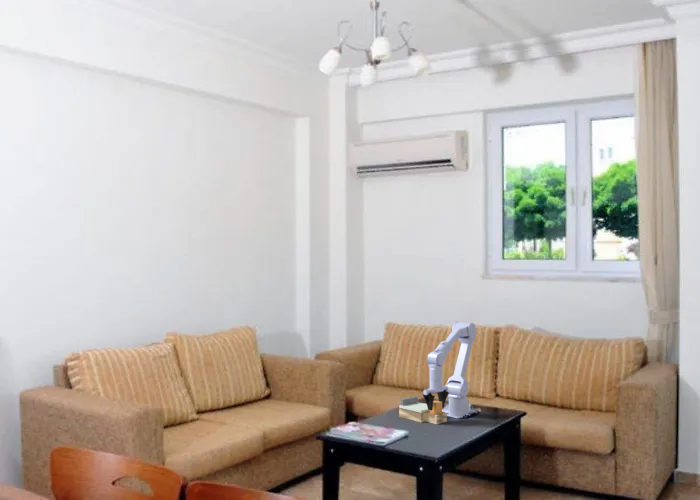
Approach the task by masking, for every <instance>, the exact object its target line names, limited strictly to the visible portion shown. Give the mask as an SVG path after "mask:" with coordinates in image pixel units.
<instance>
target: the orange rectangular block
mask: <svg viewBox="0 0 700 500" xmlns="http://www.w3.org/2000/svg"><path fill="white" fill-rule="evenodd" d="M442 412H443V408H442V402H440V401H439V400H434V401H433V409H432V410H430V413H431V414H436V415H437V414H442Z"/></svg>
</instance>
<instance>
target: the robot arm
mask: <svg viewBox="0 0 700 500" xmlns="http://www.w3.org/2000/svg"><path fill="white" fill-rule="evenodd" d="M477 331H478V330H477V327H476V324H475V323H474V322H460V321H455V322H454V323H453V324H452V326H451V332H450V333H449V335H448V336H447V338H446V339H445V340H442V341H440V343H439V344H438V345H437V347H436V348H435V349H434V350H433V351H430V352H429V353H428V354H427V357H426V362H427V365H428V369H429V387H428V388H426V389H424V390H423V393H422V397H423V399H424V400H425V404H427V407H428V410H432V409H433V401H435V395H433V394H436V393H437V397H438V401H440V402H442V409H444V407H445V404H446V400H447V398H448V413H447V417H449V418H450V417H451V418H455V419H460V418H464V417H463V415H464V414H468V413H469V414H470V401H469V398H468V397H467V396H468V393H469V381H468V380H467V379H466V374H467V368H468V365H469V361H470V357H471V352H472V348H473V345H474V342H475V338H476V335H477ZM457 340H458V341H460V347H459V351H458V355H457V360H456V363H455V368H454V372H453V375H452V376H449V377H448V378H447V382H446V383H445V385H443V365H444V364H445V363H446V359H447V356H448V355H449V353H450V352H451V351H452V346H453V344H454V343H456V341H457Z"/></svg>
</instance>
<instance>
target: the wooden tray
mask: <svg viewBox="0 0 700 500" xmlns="http://www.w3.org/2000/svg"><path fill="white" fill-rule="evenodd" d="M398 409H399V410H398V417H399V418H403V419H406V420H409V421H415V422H418V423H424V422H425V423H430V424H434V425H440V424H443V423H448V416H447V414H448V413H447V412H444V411H442V414H437V415H436V414H431V413H430V411H427V412H423V413H419V412H415V411H411V410H407V409H403V408H398Z"/></svg>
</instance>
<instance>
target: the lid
mask: <svg viewBox="0 0 700 500" xmlns="http://www.w3.org/2000/svg"><path fill="white" fill-rule="evenodd" d="M398 407H399V408H403V409H407V410H411V411H415V412H419V413H423V412H427V411H430V410H428V407H427V403H426V402H425V403H423V402H419V397H418V396H416V395H415V396H410V397H405V398H400V405H398ZM399 408H398V409H399Z"/></svg>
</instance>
